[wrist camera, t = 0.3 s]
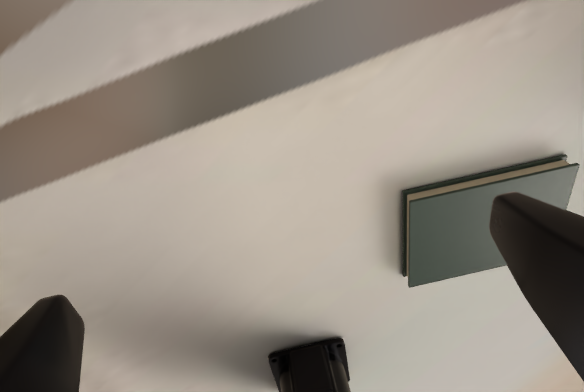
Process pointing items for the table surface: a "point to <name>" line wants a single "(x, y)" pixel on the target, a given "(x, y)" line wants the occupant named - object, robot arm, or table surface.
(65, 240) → the table surface
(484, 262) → the notebook
